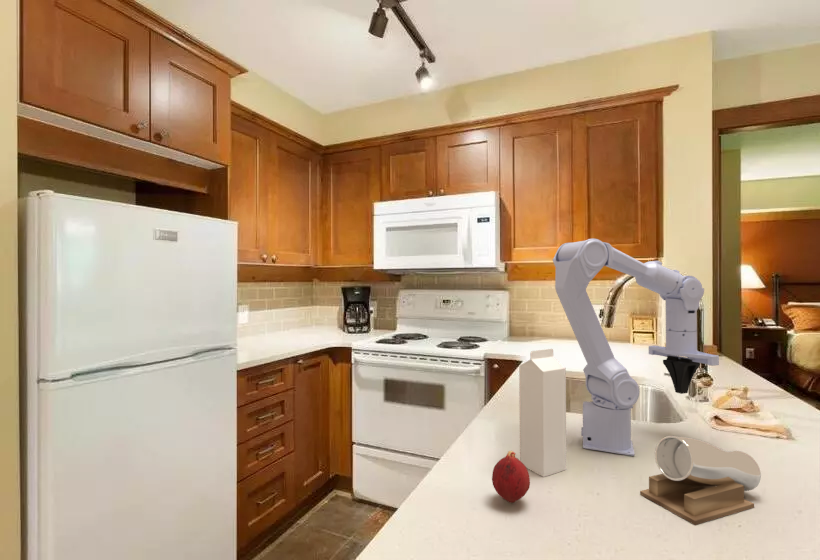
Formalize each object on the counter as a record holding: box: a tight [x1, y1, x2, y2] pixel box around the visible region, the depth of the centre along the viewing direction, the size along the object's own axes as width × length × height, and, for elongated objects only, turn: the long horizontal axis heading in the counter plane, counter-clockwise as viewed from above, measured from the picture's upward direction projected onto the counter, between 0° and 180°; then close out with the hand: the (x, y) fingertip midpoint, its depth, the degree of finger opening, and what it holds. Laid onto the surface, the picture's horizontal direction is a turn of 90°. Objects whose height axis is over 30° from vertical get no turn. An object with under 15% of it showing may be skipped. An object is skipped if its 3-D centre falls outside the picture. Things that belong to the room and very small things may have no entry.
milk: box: [518, 348, 567, 478], centre depth 77 cm, size 6×6×22 cm
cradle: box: [639, 473, 755, 526], centre depth 65 cm, size 9×13×3 cm
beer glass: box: [654, 435, 762, 492], centre depth 66 cm, size 7×7×15 cm
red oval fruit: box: [491, 450, 531, 504], centre depth 65 cm, size 6×6×8 cm
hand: (681, 392), depth 90 cm, fingers closed
